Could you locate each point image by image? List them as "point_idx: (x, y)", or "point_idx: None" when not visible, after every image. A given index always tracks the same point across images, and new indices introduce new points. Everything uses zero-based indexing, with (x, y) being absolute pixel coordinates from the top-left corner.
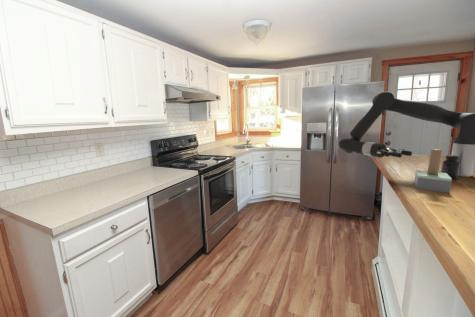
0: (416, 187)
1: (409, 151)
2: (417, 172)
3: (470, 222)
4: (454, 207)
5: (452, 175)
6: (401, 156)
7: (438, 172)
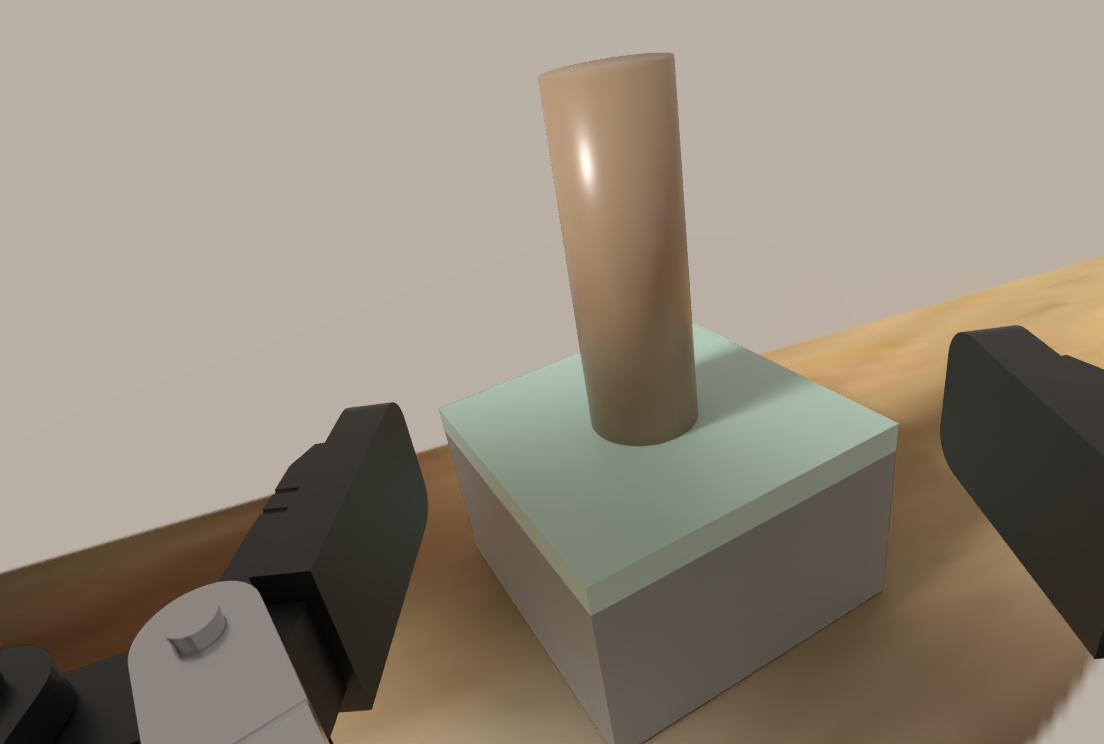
0: (884, 560)
1: (379, 425)
2: (742, 499)
3: (1052, 270)
4: (932, 347)
5: None
6: (951, 424)
7: (480, 435)
